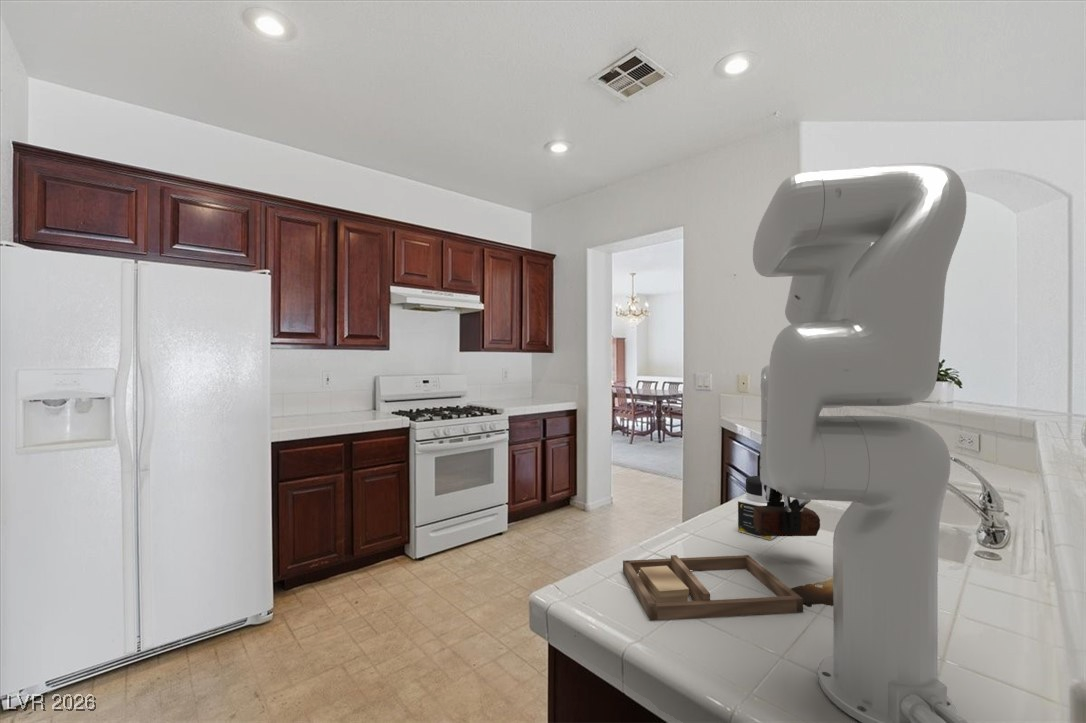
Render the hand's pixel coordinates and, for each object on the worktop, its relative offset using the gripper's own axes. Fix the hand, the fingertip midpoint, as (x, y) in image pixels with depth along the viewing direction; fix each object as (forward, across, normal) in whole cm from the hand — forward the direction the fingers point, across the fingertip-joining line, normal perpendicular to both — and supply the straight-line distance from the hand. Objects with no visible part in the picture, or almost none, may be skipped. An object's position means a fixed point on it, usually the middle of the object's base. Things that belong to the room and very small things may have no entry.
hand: (783, 526), depth 89 cm
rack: (+7, -9, +19) cm, 22 cm away
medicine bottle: (+7, +15, -4) cm, 17 cm away
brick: (+2, 0, 0) cm, 2 cm away
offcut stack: (+7, -9, +26) cm, 29 cm away
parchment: (+7, -11, -6) cm, 15 cm away
